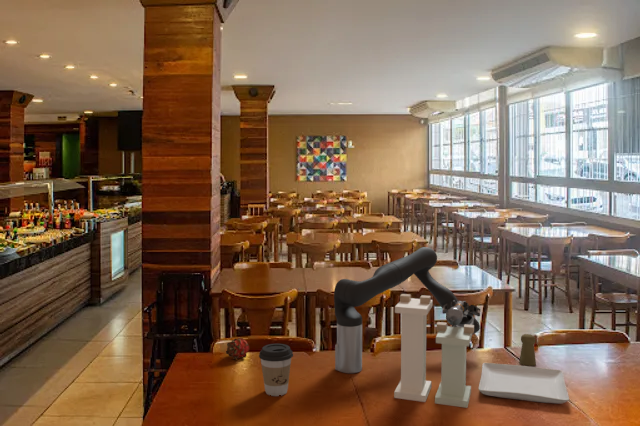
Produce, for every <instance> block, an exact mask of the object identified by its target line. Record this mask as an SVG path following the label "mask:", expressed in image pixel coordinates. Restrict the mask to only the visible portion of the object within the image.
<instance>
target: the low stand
mask: <svg viewBox="0 0 640 426" xmlns="http://www.w3.org/2000/svg"><path fill="white" fill-rule="evenodd" d="M436 331H437V334H436V336H435V344H441V372H440V374H441V375H440V376H441V378H440V382H439V386H438V388H437V392H436V393H435V396H434V404H438V405H444V406H452V407H460V408H466V409H467V408H469V407H468V406H469V403H470V399H471V394H472V385H466V384H467V381H466V380H467V378H466V377H467V347H470V344H471V340H472V336H473V335H474V334H473V333H474V325H467V324H465V325H464V328H462V327H452V325H451V326H450V325H448V322H444V321H441V322H440V321H437V322H436ZM472 334H473V335H472Z"/></svg>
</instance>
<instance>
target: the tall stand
mask: <svg viewBox="0 0 640 426" xmlns="http://www.w3.org/2000/svg"><path fill="white" fill-rule="evenodd" d="M431 298H432V296H431V295H425V294H424V295H422V294H421V296H420V297H419V298H413V297H412V294H410V293H409V294H407V293H400V296H399V302H398V303H397V304H396V305H395V306H394V313H395V314H400V316H401V319H400V320H401V322H400V323H401V326H400V328H401V329H400V331H401V334H400V335H401V338H400V339H401V341H400V342H401V343H400V380H399V382H398V385H397V386H396V388H395V390H394V392H393V393H394V394H393V396H394V397H393V398H394V399H399V400H401V399H402V400H407V401H414V402H415V401H416V402H421V403H426V401H427V399H428V396H429V395H430V391H431V389H432V381H431V380H427V379H426V378H427V321H428V319H427V318H428V317H427V316H428V314H429V313H430V311H431V309H432V307H433V305H434V304H433V302H434V301H433V299H431Z"/></svg>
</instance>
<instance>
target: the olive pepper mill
mask: <svg viewBox="0 0 640 426" xmlns="http://www.w3.org/2000/svg"><path fill="white" fill-rule="evenodd" d="M520 342H521V350H520V355H519V361H518V363H519V365H521V366H529V367H535V366H536V365H537V361H536V352H535V343H536V336H535V335H533V334H531V333H530V334H529V333H524V334H522V335H521V337H520Z"/></svg>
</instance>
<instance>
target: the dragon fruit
mask: <svg viewBox="0 0 640 426" xmlns="http://www.w3.org/2000/svg"><path fill="white" fill-rule="evenodd" d="M226 345H227V348H226V351H225V354H226V355H228V357H230V358H232V359H233V360H236V359H238V360H240V358H242V359H243V358H246V357H247V353H248V352H249V351H250V345H249V344H248V341H247V340H245V339H243V338H242V337H238V338H234V339H232V340H231V342H230V341H229V342H227V344H226Z"/></svg>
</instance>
